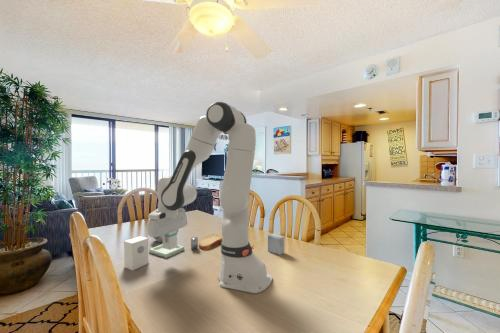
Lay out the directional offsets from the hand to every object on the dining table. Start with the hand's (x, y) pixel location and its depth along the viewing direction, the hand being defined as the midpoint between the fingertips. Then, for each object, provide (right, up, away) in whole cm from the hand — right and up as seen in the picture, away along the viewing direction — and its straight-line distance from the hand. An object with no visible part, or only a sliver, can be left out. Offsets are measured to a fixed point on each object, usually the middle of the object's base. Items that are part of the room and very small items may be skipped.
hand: (169, 240), depth 109 cm
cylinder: (+7, -10, +18) cm, 22 cm away
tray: (-6, -10, +15) cm, 19 cm away
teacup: (-15, -10, +32) cm, 37 cm away
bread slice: (+16, -11, +27) cm, 33 cm away
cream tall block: (-15, -11, -1) cm, 18 cm away
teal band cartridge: (0, -3, 0) cm, 3 cm away
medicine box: (+51, -11, +14) cm, 54 cm away
